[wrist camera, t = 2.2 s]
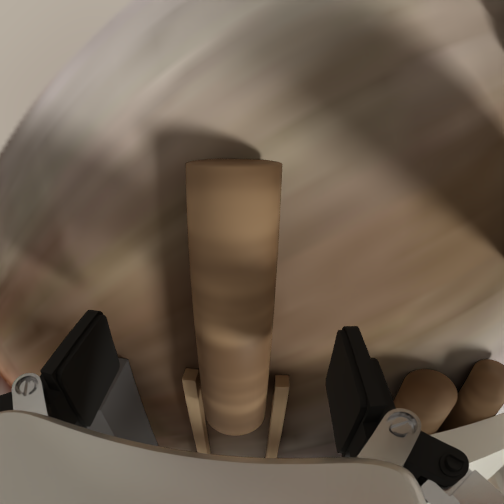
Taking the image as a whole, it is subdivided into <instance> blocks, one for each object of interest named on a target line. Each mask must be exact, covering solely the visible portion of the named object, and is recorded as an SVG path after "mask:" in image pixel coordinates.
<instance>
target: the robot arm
mask: <svg viewBox="0 0 504 504" xmlns="http://www.w3.org/2000/svg"><path fill="white" fill-rule="evenodd" d="M119 367H120V363H119V359H118V356H117V353H116V350H115V346H114V343H113V340H112V336H111V333H110V329H109V325H108V322H107V318H106V316H105V315H103V313H102V312H101V311H95V310H88V311H87V312H86V313H85V314H84V316H83V317H82V318H81V319H80V320H79V322H78V323H77V324H76V325H75V327H74V328H73V329H72V330H71V332H70V333H69V334H68V335H67V337H66V338H65V339H64V340H63V342H62V343H61V344H60V346H59V347H58V348H57V349H56V351H55V352H54V353H53V355H52V356H51V357H50V359H49V360H48V361H47V363H46V364H45V365H44V367H43V368H42V369H41V373H42V374H41V375H40V377H39V376H38V375H36V374H34V373H26V374H23V375H21V376H19V377H18V378H17V379H16V380H15V381H14V383H13V385H12V392H9V393H7V394H3V395H0V504H426V503H430V504H504V465H503V466H502V467H501V468H500V469H499V470H498V471H497V472H496V473H495V474H494V475H492V476H491V477H490V478H489V479H488V480H486V479H485V478H484V477H483V476H482V475H481V474H480V473H479V472H477V471H476V470H474V471H471V470H470V469H469V460H468V458H467V456H466V455H465V453H464V452H462V451H461V450H459V449H457V448H455V447H453V446H451V445H449V444H447V443H445V442H443V441H441V440H439V439H437V438H434V437H433V436H431V435H429V434H427V433H425V432H423V431H421V421H420V419H419V417H418V416H417V415H416V414H415V413H414V412H412V411H410V410H407V409H403V408H397V409H396V407H395V405H394V402H393V399H392V396H391V394H390V391H389V388H388V386H387V383H386V380H385V378H384V375H383V373H382V370H381V367H380V365H379V362H378V361H377V359H376V358H370V356H369V353H368V350H367V348H366V345H365V343H364V340H363V337H362V335H361V332H360V330H359V328H358V327H357V326H344V327H343V328H342V330H338V332H337V336H336V340H335V344H334V349H333V353H332V357H331V361H330V365H329V369H328V373H327V377H326V389H327V395H328V400H329V406H330V412H331V418H332V424H333V430H334V436H335V442H336V448H337V452H338V453H342V457H331V458H253V457H237V456H224V455H214V454H205V453H197V452H190V451H183V450H176V449H170V448H165V447H159V446H154V445H149V444H144V443H140V442H135V441H131V440H127V439H122V438H118V437H115V436H111V435H107V434H104V433H100V432H97V431H93V430H90V429H87V427H90V426H91V424H92V422H93V420H94V418H95V416H96V414H97V412H98V410H99V408H100V406H101V404H102V402H103V400H104V398H105V396H106V394H107V392H108V390H109V388H110V386H111V384H112V382H113V380H114V378H115V376H116V374H117V373H118V371H119Z"/></svg>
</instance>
